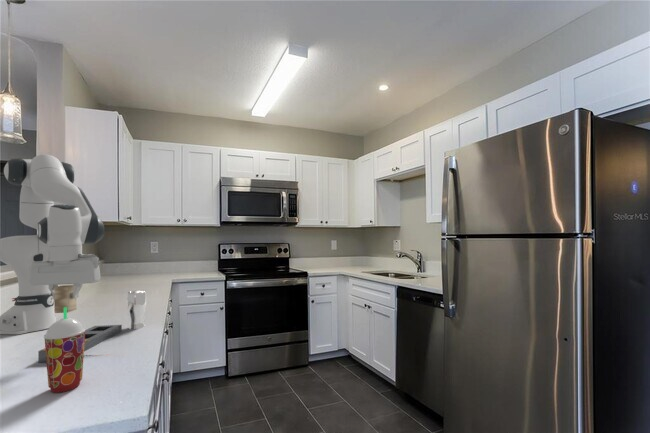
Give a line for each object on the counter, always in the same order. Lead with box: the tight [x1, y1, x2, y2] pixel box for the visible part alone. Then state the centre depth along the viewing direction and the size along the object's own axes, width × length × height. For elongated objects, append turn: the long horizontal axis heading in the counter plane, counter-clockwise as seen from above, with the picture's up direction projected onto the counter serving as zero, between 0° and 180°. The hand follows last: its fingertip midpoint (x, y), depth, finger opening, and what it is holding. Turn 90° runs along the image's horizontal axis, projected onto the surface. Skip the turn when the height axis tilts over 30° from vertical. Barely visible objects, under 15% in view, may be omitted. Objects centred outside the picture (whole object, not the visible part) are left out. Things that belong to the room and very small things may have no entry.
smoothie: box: [43, 307, 87, 394], centre depth 86 cm, size 8×8×20 cm
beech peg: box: [54, 284, 77, 314], centre depth 109 cm, size 4×4×8 cm
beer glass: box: [126, 289, 147, 330], centre depth 137 cm, size 7×7×15 cm
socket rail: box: [37, 324, 123, 364], centre depth 117 cm, size 27×10×4 cm, turn 2°
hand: (65, 298), depth 109 cm, fingers closed on beech peg, 4 cm apart
